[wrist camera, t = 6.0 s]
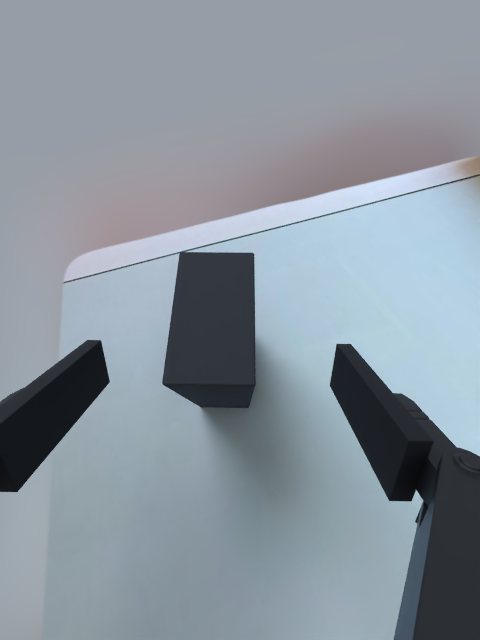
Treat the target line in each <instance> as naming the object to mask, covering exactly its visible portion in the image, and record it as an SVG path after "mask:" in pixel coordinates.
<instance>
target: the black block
mask: <svg viewBox="0 0 480 640" xmlns="http://www.w3.org/2000/svg"><path fill="white" fill-rule="evenodd" d="M162 383H163V385H165V386H166V387H168V388H170V389H171V390H173V391H175V392H176V393H178V394H180V395H181V396H183V397H185V398H186V399H188V400H190V401H191V402H193V403H195V404H197V405H198V406H200V407H225V408H248V407H249V405H250V401H251V398H252V394H253V391H254V387H255V287H254V253H202V252H181V253H180V255H179V263H178V270H177V278H176V285H175V293H174V300H173V307H172V315H171V322H170V330H169V337H168V345H167V352H166V360H165V367H164V375H163V382H162Z"/></svg>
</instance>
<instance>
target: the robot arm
mask: <svg viewBox="0 0 480 640" xmlns="http://www.w3.org/2000/svg"><path fill="white" fill-rule="evenodd" d="M109 382H110V381H109V376H108V372H107V367H106V362H105V358H104V353H103V348H102V343H101V340H87V341H86V342H84V343H83V344H82V345H80V346H79V347H78V348H76V349H75V350H74V351H72V352H71V353H70V354H68V355H67V356H66V357H65V358H63V359H62V360H61V361H59V362H58V363H57V364H55V365H54V366H53V367H51V368H50V369H49V370H47V371H46V372H45V373H43V374H42V375H41V376H39V377H38V378H37V379H36V380H34V381H33V382H32V383H30V384H29V385H28V386H26V387H25V388H22V389H20V390H19V391H16V392H14V393H12V394H10V395H9V396H8V397H6V398H5V399H3V400H2V401H1V402H0V492H18V490H19V489H20V488H21V487H22V486H23V484H24V483H25V482H26V481H27V480H28V479H29V477H30V476H31V475H32V474H33V473H34V471H35V470H36V469H37V468H38V467H39V466H40V464H41V463H42V462H43V461H44V460H45V458H46V457H47V456H48V455H49V454H50V452H51V451H52V450H53V449H54V448H55V446H56V445H57V444H58V443H59V442H60V441H61V439H62V438H63V437H64V436H65V435H66V433H67V432H68V431H69V430H70V429H71V427H72V426H73V425H74V424H75V423H76V422H77V420H78V419H79V418H80V417H81V416H82V414H83V413H84V412H85V411H86V410H87V408H88V407H89V406H90V405H91V404H92V402H93V401H94V400H95V399H96V398H97V397H98V395H99V394H100V393H101V392H102V391H103V389H104V388H105V387H106V386H107V385H108V383H109ZM330 387H331V389H332V391H333V393H334V395H335V396H336V398H337V400H338V402H339V404H340V406H341V408H342V410H343V412H344V414H345V416H346V418H347V420H348V422H349V424H350V426H351V428H352V429H353V431H354V433H355V435H356V437H357V439H358V441H359V443H360V445H361V447H362V449H363V451H364V453H365V455H366V457H367V459H368V461H369V462H370V464H371V466H372V468H373V470H374V472H375V474H376V476H377V478H378V480H379V482H380V484H381V486H382V488H383V490H384V492H385V494H386V495H387V497H388V499H389V501H412V498H413V496H414V493H415V490H417V491H418V493H419V494H420V496H421V498H422V499H423V503H422V506H421V508H420V511H419V513H418V516H417V518H416V521H415V522H416V523H418V524H417V529H416V534H415V539H414V544H413V548H412V553H411V558H410V563H409V568H408V573H407V578H406V582H405V587H404V592H403V597H402V602H401V607H400V612H399V616H398V621H397V626H396V631H395V636H394V640H480V457H479V456H478V455H476V454H474V453H472V452H470V451H467V450H464V449H461V448H457V447H456V446H455V445H454V444H453V443H452V442H451V441H450V440H449V439H448V438H447V437H446V436H445V434H444V433H443V432H442V431H441V430H440V429H439V428H438V427H437V426H436V425H435V424H434V423H433V422H432V421H431V420H429V417H428V416H427V415H426V414H425V413H424V412H422V410H421V409H420V408H419V407H418V406H417V404H416V403H415V402H414V401H412V400H411V399H409V398H408V397H406V396H405V395H403V394H397V393H392V392H391V391H390V389H389V388H388V387H387V386H386V385H385V384H384V382H383V381H382V380H381V379H380V378H379V377H378V375H377V374H376V373H375V372H374V371H373V370H372V368H371V367H370V366H369V365H368V364H367V363H366V361H365V360H364V359H363V358H362V357H361V356H360V354H359V353H358V352H357V351H356V350H355V349H354V347H353V346H352V345H351V344H337V345H336V352H335V358H334V364H333V370H332V376H331V383H330Z"/></svg>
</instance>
